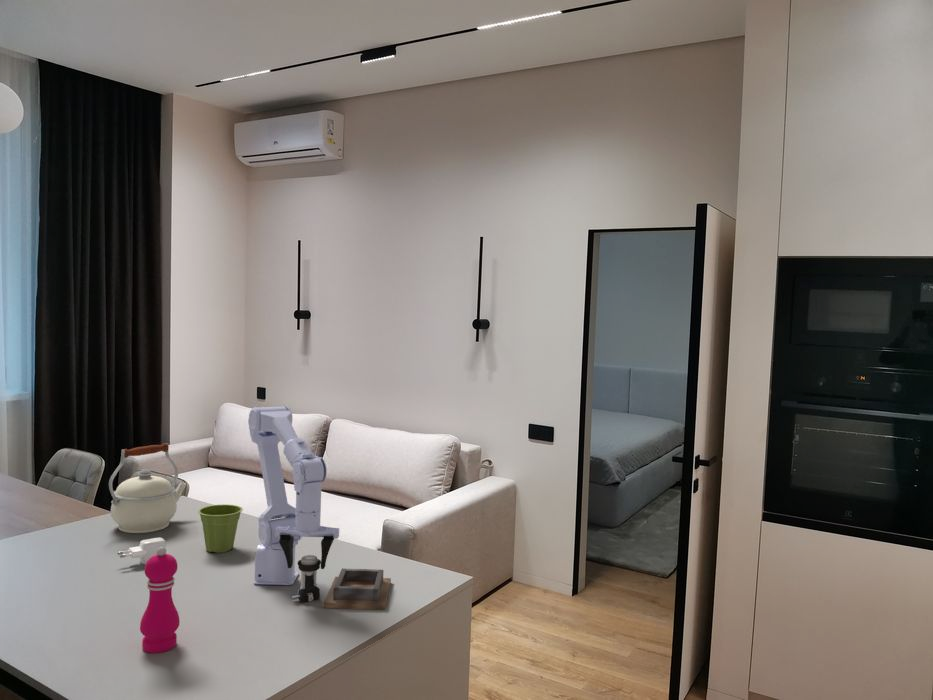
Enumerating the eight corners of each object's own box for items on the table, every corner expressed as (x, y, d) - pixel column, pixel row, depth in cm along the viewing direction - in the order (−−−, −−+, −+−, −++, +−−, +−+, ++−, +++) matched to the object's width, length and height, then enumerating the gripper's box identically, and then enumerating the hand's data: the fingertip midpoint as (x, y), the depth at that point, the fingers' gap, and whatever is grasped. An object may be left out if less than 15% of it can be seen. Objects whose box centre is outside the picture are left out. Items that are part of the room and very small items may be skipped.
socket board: (323, 607, 158) (324, 590, 158) (335, 581, 174) (335, 565, 174) (384, 609, 158) (385, 592, 158) (390, 582, 174) (391, 567, 174)
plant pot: (250, 547, 196) (251, 508, 195) (215, 559, 186) (216, 518, 185) (223, 539, 202) (224, 501, 202) (188, 549, 192) (189, 510, 192)
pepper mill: (147, 637, 141) (149, 540, 140) (184, 637, 141) (186, 541, 140) (133, 654, 133) (135, 553, 132) (172, 654, 134) (174, 553, 133)
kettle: (126, 541, 197) (128, 455, 196) (92, 528, 207) (93, 446, 206) (202, 522, 218) (204, 444, 217) (167, 511, 228) (169, 436, 227)
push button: (296, 607, 158) (298, 564, 157) (287, 599, 162) (288, 557, 161) (323, 600, 162) (324, 559, 161) (313, 593, 166) (314, 552, 166)
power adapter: (120, 570, 175) (121, 548, 175) (116, 565, 179) (116, 542, 179) (166, 562, 182) (167, 540, 182) (161, 556, 186) (161, 535, 186)
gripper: (272, 513, 157) (271, 572, 157) (336, 515, 157) (334, 574, 158) (280, 505, 164) (278, 561, 164) (341, 507, 164) (339, 563, 165)
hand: (306, 567), depth 161 cm, fingers open, 7 cm apart
